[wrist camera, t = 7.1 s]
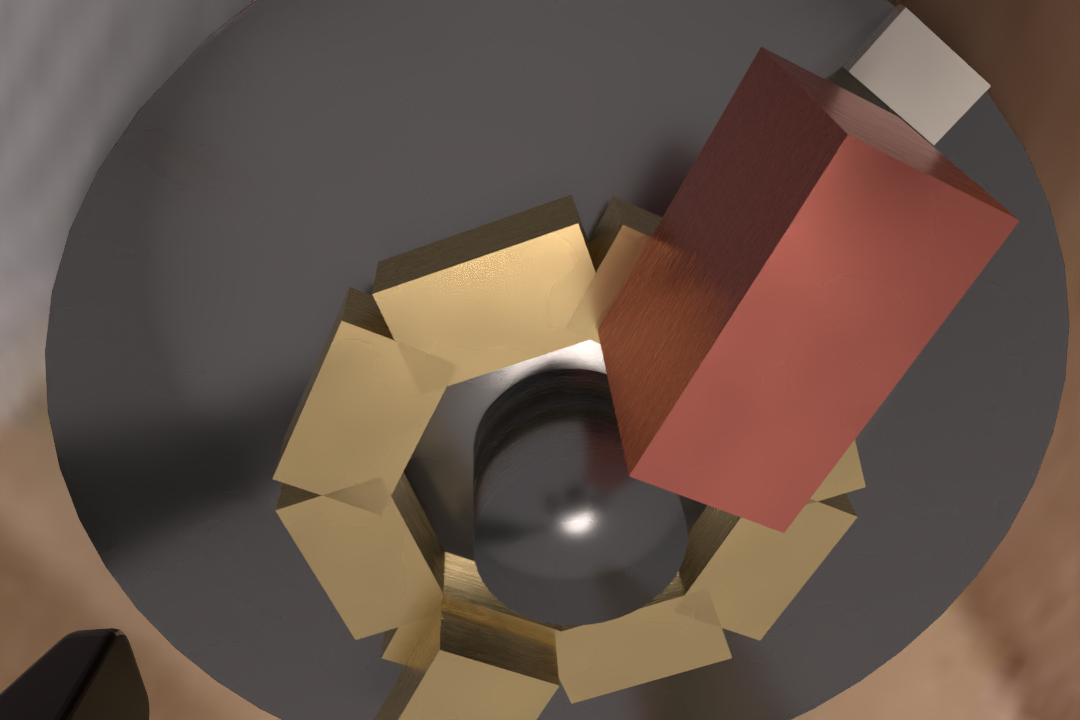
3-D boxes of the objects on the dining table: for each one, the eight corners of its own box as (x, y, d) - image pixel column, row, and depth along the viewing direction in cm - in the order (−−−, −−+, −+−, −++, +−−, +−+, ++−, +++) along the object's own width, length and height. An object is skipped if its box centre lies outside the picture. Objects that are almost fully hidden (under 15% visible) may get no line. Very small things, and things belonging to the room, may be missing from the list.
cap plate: (109, 719, 24) (49, 878, 21) (5, -181, 15) (-135, -162, 11) (876, 751, 27) (937, 899, 23) (1209, -19, 17) (1395, 38, 14)
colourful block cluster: (961, 594, 22) (1084, 805, 17) (390, 756, 23) (371, 988, 19) (851, -13, 15) (1004, 81, 11) (74, 267, 17) (-65, 447, 13)
